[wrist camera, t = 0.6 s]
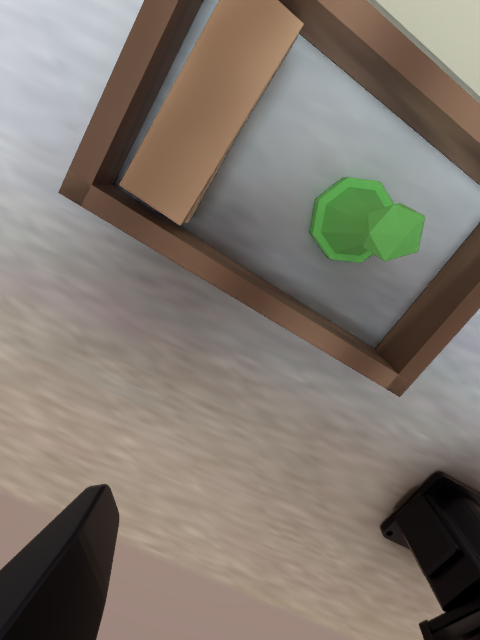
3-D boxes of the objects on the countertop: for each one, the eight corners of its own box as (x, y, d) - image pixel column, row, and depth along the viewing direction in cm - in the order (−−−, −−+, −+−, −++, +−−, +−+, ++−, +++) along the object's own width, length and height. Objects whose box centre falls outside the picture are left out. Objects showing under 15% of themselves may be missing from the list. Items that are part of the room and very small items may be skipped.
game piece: (339, 158, 17) (395, 146, 12) (407, 203, 18) (488, 211, 13) (292, 237, 19) (323, 258, 13) (358, 275, 20) (413, 311, 14)
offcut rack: (525, 194, 18) (580, 195, 16) (376, 369, 22) (399, 397, 19) (211, -79, 14) (208, -145, 11) (84, 191, 17) (58, 192, 15)
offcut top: (292, 44, 14) (303, 24, 13) (184, 221, 17) (180, 225, 15) (236, -6, 14) (238, -37, 12) (130, 185, 16) (118, 184, 14)
